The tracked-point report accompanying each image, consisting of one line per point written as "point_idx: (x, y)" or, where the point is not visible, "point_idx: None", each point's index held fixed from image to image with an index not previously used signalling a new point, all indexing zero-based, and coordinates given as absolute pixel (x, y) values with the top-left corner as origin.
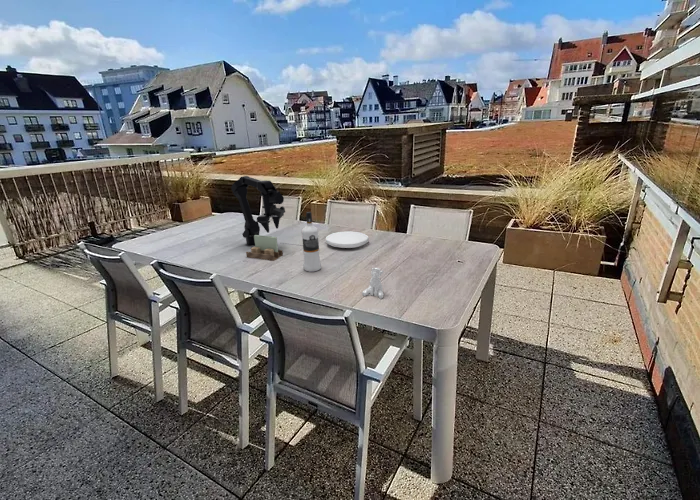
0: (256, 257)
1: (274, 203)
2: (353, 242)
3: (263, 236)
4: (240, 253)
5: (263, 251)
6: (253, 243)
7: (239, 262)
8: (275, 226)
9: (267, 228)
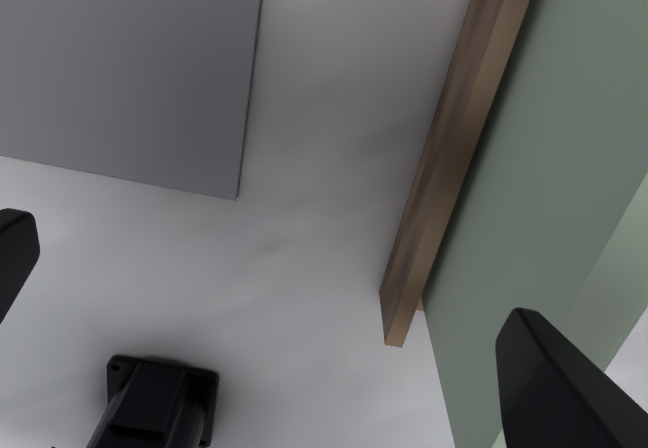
0: None
1: None
2: None
3: (603, 345)
4: (387, 416)
5: None
6: (182, 408)
7: (637, 346)
8: (3, 315)
9: (644, 442)
